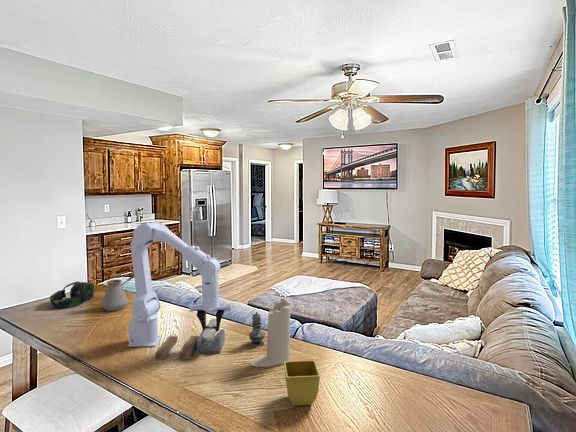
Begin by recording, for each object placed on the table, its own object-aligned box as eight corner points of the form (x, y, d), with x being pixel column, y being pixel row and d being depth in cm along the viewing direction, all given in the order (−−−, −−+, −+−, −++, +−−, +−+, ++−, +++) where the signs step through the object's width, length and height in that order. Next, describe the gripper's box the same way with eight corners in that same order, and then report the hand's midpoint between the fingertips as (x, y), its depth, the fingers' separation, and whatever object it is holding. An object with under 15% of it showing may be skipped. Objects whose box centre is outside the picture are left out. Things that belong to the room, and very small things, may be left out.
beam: (156, 359, 120) (156, 353, 120) (169, 340, 134) (168, 336, 134) (189, 358, 120) (189, 353, 120) (199, 340, 134) (198, 335, 134)
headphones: (72, 284, 188) (39, 302, 169) (85, 268, 184) (53, 285, 165) (91, 303, 188) (60, 322, 169) (104, 287, 184) (74, 305, 165)
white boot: (246, 360, 120) (245, 300, 118) (284, 352, 125) (284, 295, 123) (252, 370, 113) (252, 307, 111) (293, 361, 118) (293, 301, 117)
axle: (213, 343, 122) (213, 331, 122) (201, 343, 122) (201, 331, 122) (219, 329, 134) (219, 318, 134) (208, 328, 134) (208, 318, 134)
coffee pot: (112, 314, 161) (111, 281, 160) (95, 310, 167) (94, 278, 165) (150, 301, 180) (150, 271, 179) (135, 297, 185) (134, 268, 184)
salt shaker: (262, 348, 128) (262, 314, 127) (246, 346, 130) (246, 313, 128) (266, 341, 134) (266, 309, 133) (251, 339, 135) (251, 308, 134)
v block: (196, 353, 124) (196, 341, 124) (203, 340, 134) (202, 329, 134) (220, 352, 125) (220, 341, 124) (224, 340, 134) (224, 329, 134)
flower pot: (283, 391, 101) (283, 360, 100) (314, 390, 102) (314, 359, 101) (286, 411, 93) (286, 377, 92) (320, 409, 93) (320, 376, 93)
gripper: (186, 296, 124) (187, 335, 125) (229, 296, 124) (230, 335, 125) (191, 290, 131) (192, 327, 132) (232, 290, 131) (232, 327, 132)
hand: (211, 330), depth 129 cm, fingers closed on axle, 4 cm apart
